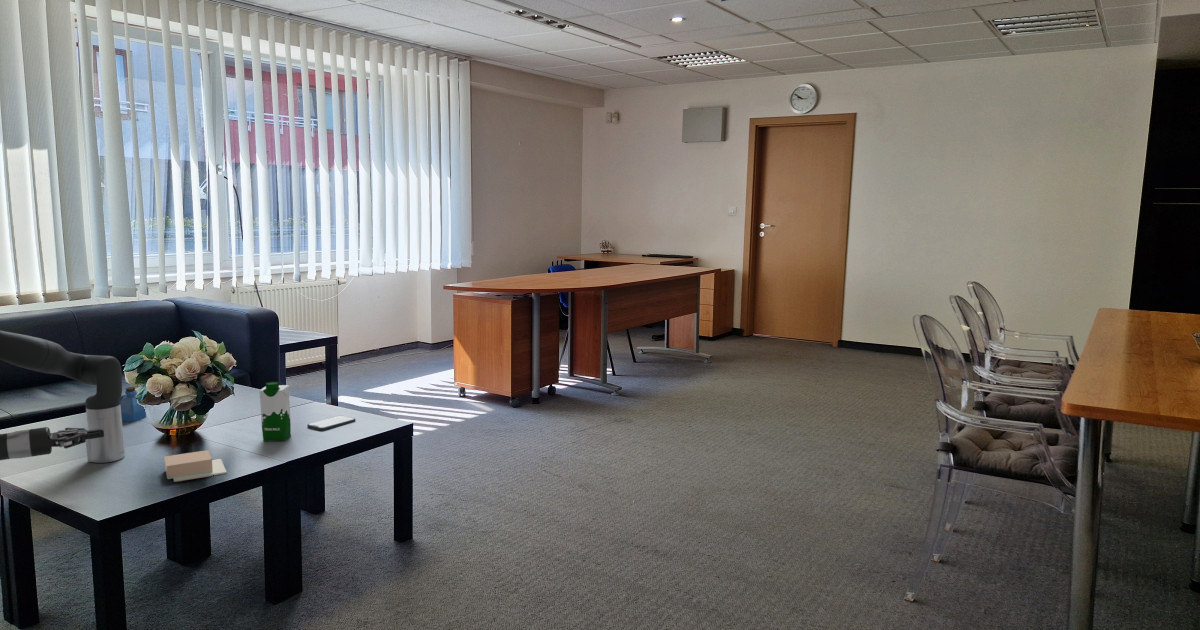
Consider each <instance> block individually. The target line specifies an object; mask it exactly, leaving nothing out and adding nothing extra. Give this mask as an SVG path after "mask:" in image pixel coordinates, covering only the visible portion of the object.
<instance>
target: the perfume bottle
mask: <svg viewBox="0 0 1200 630" xmlns="http://www.w3.org/2000/svg"><path fill="white" fill-rule="evenodd" d="M124 392H125V393H124V395H126V396H123V397H121V398H120V405H121V417H122V422H129V423H130V422H131V423H133V422H138V421H140V420H143V419H146V418H147V411H146V412H145V409H144V407H143V406H141V405H139V404H138V403H137V400H136V395H137V391H136V386H129V387H128V386H127V387H125V391H124Z"/></svg>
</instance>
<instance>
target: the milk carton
mask: <svg viewBox="0 0 1200 630" xmlns="http://www.w3.org/2000/svg"><path fill="white" fill-rule="evenodd" d="M259 400H260V401H259V402H260V417H261V431H262V439H263V440H262V441H263V442H284V441H286V440H287V439H288V438H289V437H290V436H291V435H292V434H291V432H292V431H291V429H292V428H291V406H290V405H291V403H290V384H289V385H288V384H287V385H286V384H282V385H280V384H279V382H278V381H269V382H265V386H264V387H262V388H261V389H260V390H259Z"/></svg>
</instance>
